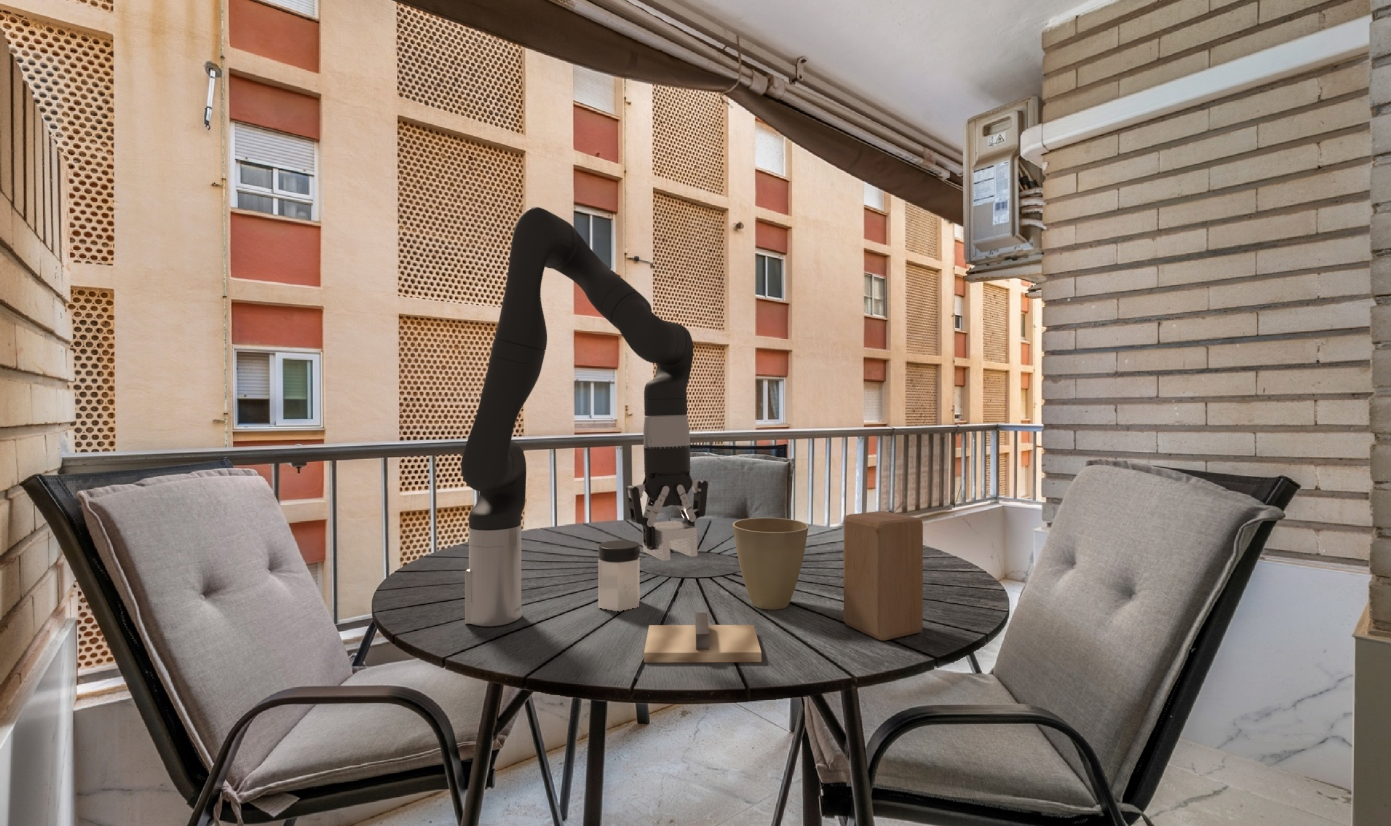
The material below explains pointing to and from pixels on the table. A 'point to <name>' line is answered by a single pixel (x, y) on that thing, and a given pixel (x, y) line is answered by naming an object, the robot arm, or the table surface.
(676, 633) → the stand
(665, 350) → the robot arm
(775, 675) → the table surface
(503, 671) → the table surface
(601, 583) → the jar
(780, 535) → the plant pot
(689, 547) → the notched grey block
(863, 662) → the table surface
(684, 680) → the table surface
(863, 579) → the wooden block
